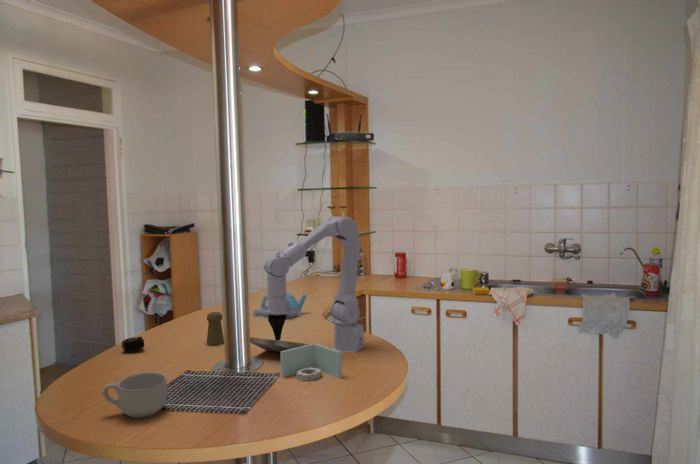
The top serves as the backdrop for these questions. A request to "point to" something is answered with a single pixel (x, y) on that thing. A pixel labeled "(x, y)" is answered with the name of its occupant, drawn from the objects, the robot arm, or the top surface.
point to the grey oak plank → (274, 344)
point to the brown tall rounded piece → (214, 329)
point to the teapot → (288, 302)
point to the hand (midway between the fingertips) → (278, 339)
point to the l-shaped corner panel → (311, 362)
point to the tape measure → (132, 343)
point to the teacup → (139, 394)
